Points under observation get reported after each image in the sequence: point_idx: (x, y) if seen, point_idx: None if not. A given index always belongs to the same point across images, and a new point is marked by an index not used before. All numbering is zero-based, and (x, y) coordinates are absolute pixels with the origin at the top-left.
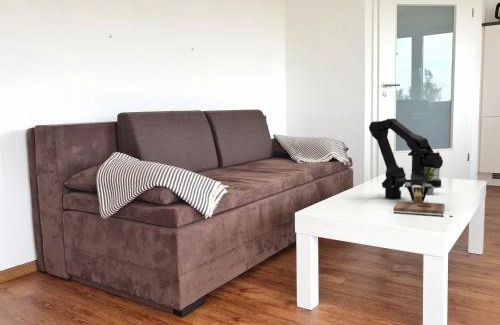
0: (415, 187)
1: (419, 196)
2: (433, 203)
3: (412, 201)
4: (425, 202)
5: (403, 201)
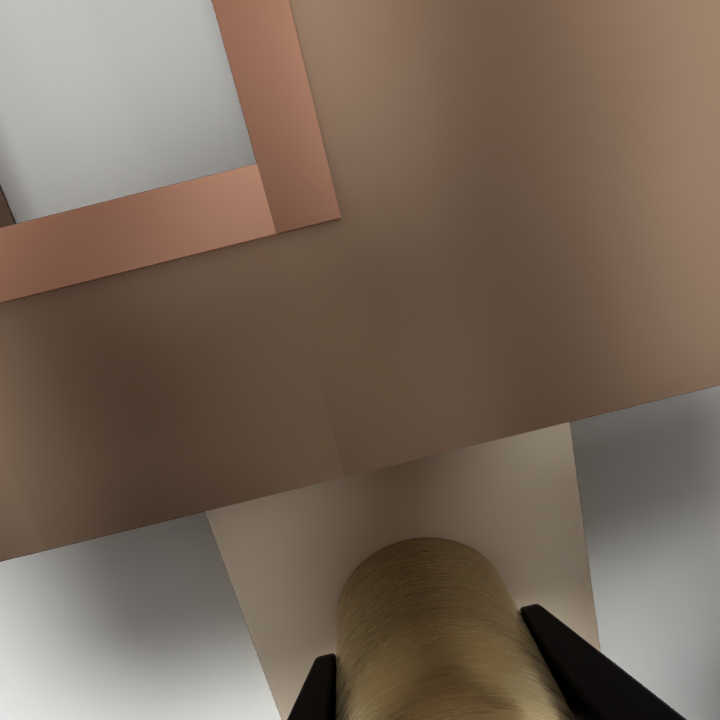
0: None
1: (391, 713)
2: (9, 528)
3: None
4: None
5: (694, 381)
